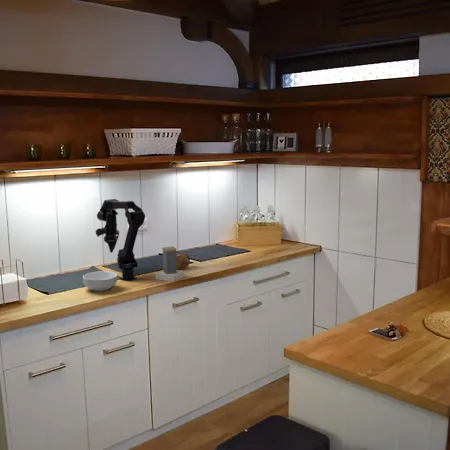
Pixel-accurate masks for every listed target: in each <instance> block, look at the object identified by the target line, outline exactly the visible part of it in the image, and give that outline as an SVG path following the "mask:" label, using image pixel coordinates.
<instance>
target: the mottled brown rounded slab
mask: <svg viewBox="0 0 450 450" xmlns="http://www.w3.org/2000/svg"><path fill="white" fill-rule="evenodd" d="M190 262H191V260H190V256H189V254H187V253H180V254H176V264H177V270H179V271H183V270H184V269H187V268H189V265H190Z"/></svg>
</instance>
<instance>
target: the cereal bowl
mask: <svg viewBox="0 0 450 450" xmlns="http://www.w3.org/2000/svg"><path fill="white" fill-rule="evenodd" d="M82 282H83V285H84V286H85V288H88V289H89V290H93V291H94V292H105V291H107V290H109V289H111V288H113V287H114V286H115V285H116V284H117V282H118V273H116V272H114V271H111V270H110V271H108V270H107V271H106V270H105V271H104V270H102V271H101V270H99V271H91V272H88V273H85V274H83V276H82Z"/></svg>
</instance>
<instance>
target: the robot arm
mask: <svg viewBox="0 0 450 450" xmlns="http://www.w3.org/2000/svg"><path fill="white" fill-rule="evenodd" d="M118 209H119V210H121V209H124V216H125V218H127V219H126V220H127V221H126V222H127V224H128V229H127V232H126V237H125V241H124V246H123V248H121V249H118V253H117V255H116V256H117V258H116V262H117V266H118V267H117V268H118V269H119V270H121V272H122V273H121V274H122V275H121V276H122V277H121V278H120V279H119V281H120V280H121V281H125V282H126V281H127V282H128V281H129V282H130V281H134V280H136V279H137V277H136V276H135V268H138V265H139V264H138V262H137V260H136V258H135V253H134V249H135V245H136V241H137V236H138V233H139V229H140V227H141V226H143V225H144V221H145V219H146V214H145V212H144V211H143V210H142V207H140V206H138V205H137V204H136V203H135V202H134V201H133V200H128V201H123V200H122V201H120V200H119V199H116V198H113V199H104V200H103V202H102V205H101V207H100V209H99V211H98V212H97V214H96V219H98V221H102V222H105V225H104V227H101V228H100V227H99V228H97V229H96V230H95V235H96V236H97V237H100V236H103V235H104V237H103V241H104V243H106V244H107V246H108V249H109V252H110V253H114V250H115V248H116V245H117V242H118V240H119V236H120V231H119V230H118V223H117V216H118V215H119V213H118V212H117V210H118ZM131 209H132V211H129V210H131Z"/></svg>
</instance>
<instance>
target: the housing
mask: <svg viewBox="0 0 450 450" xmlns="http://www.w3.org/2000/svg"><path fill="white" fill-rule="evenodd" d="M161 249H162V271H163V272H164V273H166V274H172V273H177V264H176V255H177V249H178V248H176V247H174V246H164V247H162V248H161Z"/></svg>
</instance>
